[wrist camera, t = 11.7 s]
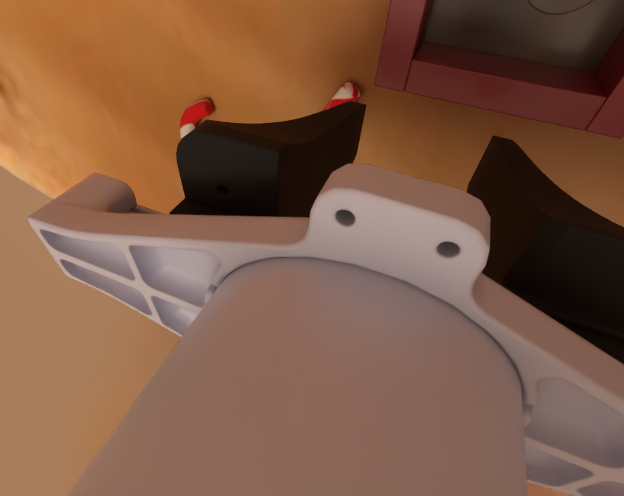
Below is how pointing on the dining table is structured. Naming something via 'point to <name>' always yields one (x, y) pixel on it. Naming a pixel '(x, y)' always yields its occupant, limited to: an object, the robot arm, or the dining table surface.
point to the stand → (529, 29)
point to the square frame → (500, 77)
